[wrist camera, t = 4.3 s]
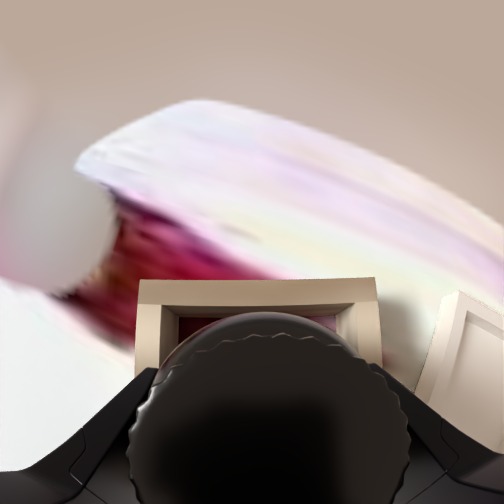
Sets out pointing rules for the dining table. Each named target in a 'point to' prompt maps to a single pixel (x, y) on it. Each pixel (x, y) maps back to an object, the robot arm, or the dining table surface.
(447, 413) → the dock
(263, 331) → the supplement bottle
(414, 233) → the dining table surface
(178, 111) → the dining table surface
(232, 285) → the frame
